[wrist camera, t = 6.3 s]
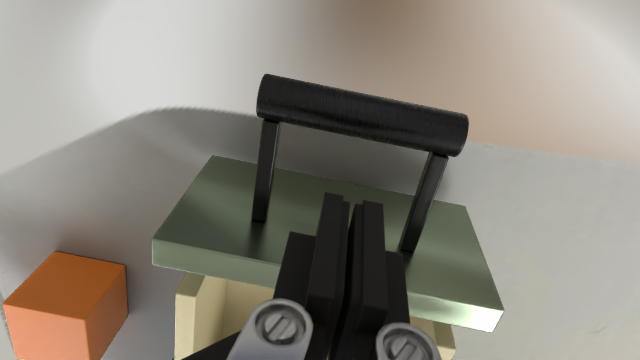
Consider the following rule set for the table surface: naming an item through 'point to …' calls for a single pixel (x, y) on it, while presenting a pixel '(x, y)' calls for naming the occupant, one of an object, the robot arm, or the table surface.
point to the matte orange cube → (67, 309)
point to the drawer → (304, 211)
